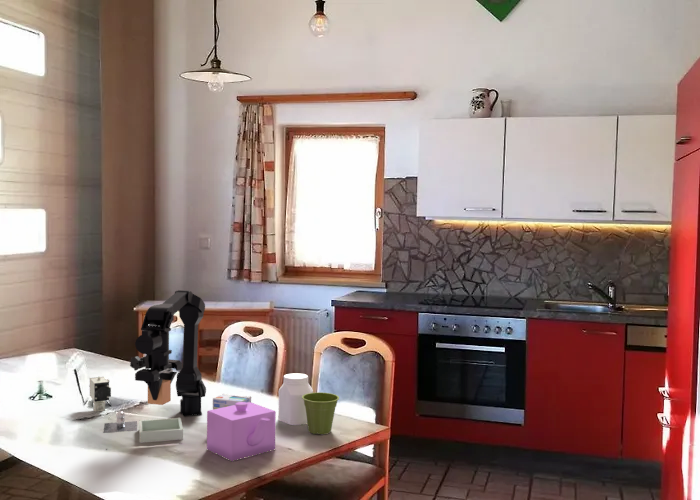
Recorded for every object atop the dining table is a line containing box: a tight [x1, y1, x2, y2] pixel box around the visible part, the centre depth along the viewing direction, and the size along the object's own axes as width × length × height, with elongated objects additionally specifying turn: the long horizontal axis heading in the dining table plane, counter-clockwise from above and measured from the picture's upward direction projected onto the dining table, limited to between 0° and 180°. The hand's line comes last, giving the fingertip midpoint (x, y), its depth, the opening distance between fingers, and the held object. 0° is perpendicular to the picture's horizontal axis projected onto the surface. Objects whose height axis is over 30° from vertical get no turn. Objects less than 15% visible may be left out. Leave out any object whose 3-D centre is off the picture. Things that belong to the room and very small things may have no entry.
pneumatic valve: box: [88, 376, 112, 413], centre depth 246 cm, size 6×12×12 cm, turn 30°
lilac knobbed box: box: [206, 401, 277, 462], centre depth 208 cm, size 15×25×14 cm, turn 43°
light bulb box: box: [212, 393, 252, 410], centre depth 228 cm, size 11×7×11 cm, turn 71°
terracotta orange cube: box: [147, 380, 172, 406], centre depth 220 cm, size 5×5×6 cm
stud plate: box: [102, 410, 138, 434], centre depth 227 cm, size 10×10×6 cm
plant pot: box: [302, 391, 340, 435], centre depth 228 cm, size 12×12×11 cm
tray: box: [138, 417, 184, 443], centre depth 220 cm, size 13×13×4 cm
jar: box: [277, 372, 314, 426], centre depth 240 cm, size 12×10×15 cm
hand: (159, 397), depth 220 cm, fingers closed on terracotta orange cube, 5 cm apart
